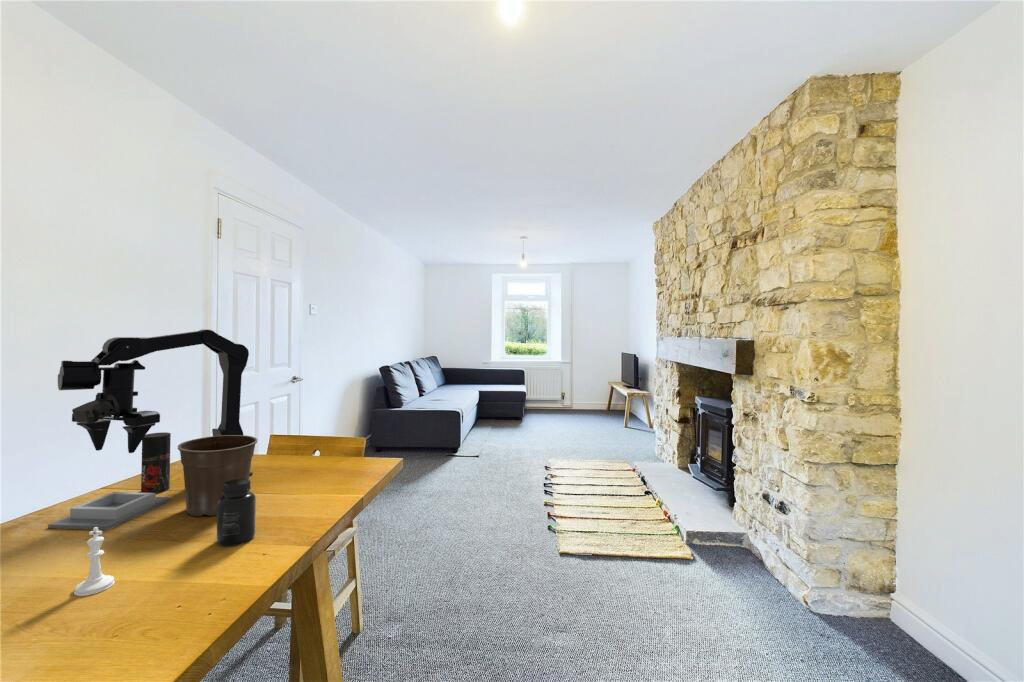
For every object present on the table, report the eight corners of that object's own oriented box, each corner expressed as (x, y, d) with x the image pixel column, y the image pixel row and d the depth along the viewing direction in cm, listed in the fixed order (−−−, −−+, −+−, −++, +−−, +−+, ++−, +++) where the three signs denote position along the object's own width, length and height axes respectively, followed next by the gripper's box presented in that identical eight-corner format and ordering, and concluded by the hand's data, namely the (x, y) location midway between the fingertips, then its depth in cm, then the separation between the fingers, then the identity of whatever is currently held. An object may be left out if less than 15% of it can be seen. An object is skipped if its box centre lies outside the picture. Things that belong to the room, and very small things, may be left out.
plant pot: (270, 502, 110) (271, 439, 110) (202, 526, 95) (204, 454, 95) (230, 491, 117) (231, 432, 117) (161, 512, 102) (162, 444, 102)
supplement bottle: (262, 535, 92) (264, 479, 92) (232, 549, 86) (234, 489, 86) (239, 529, 94) (240, 475, 94) (208, 543, 88) (209, 484, 88)
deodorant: (175, 487, 119) (176, 432, 119) (155, 494, 113) (156, 437, 113) (155, 486, 120) (156, 432, 120) (134, 493, 114) (135, 436, 114)
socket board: (171, 500, 110) (171, 488, 110) (107, 529, 93) (107, 515, 93) (120, 498, 110) (120, 487, 110) (48, 528, 93) (48, 514, 93)
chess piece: (91, 579, 74) (93, 521, 74) (122, 578, 75) (123, 521, 75) (64, 596, 70) (65, 534, 69) (97, 595, 70) (98, 534, 70)
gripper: (47, 389, 100) (43, 457, 100) (117, 393, 97) (113, 462, 97) (99, 385, 111) (95, 446, 111) (163, 388, 108) (160, 451, 108)
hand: (115, 451), depth 106 cm, fingers open, 9 cm apart
